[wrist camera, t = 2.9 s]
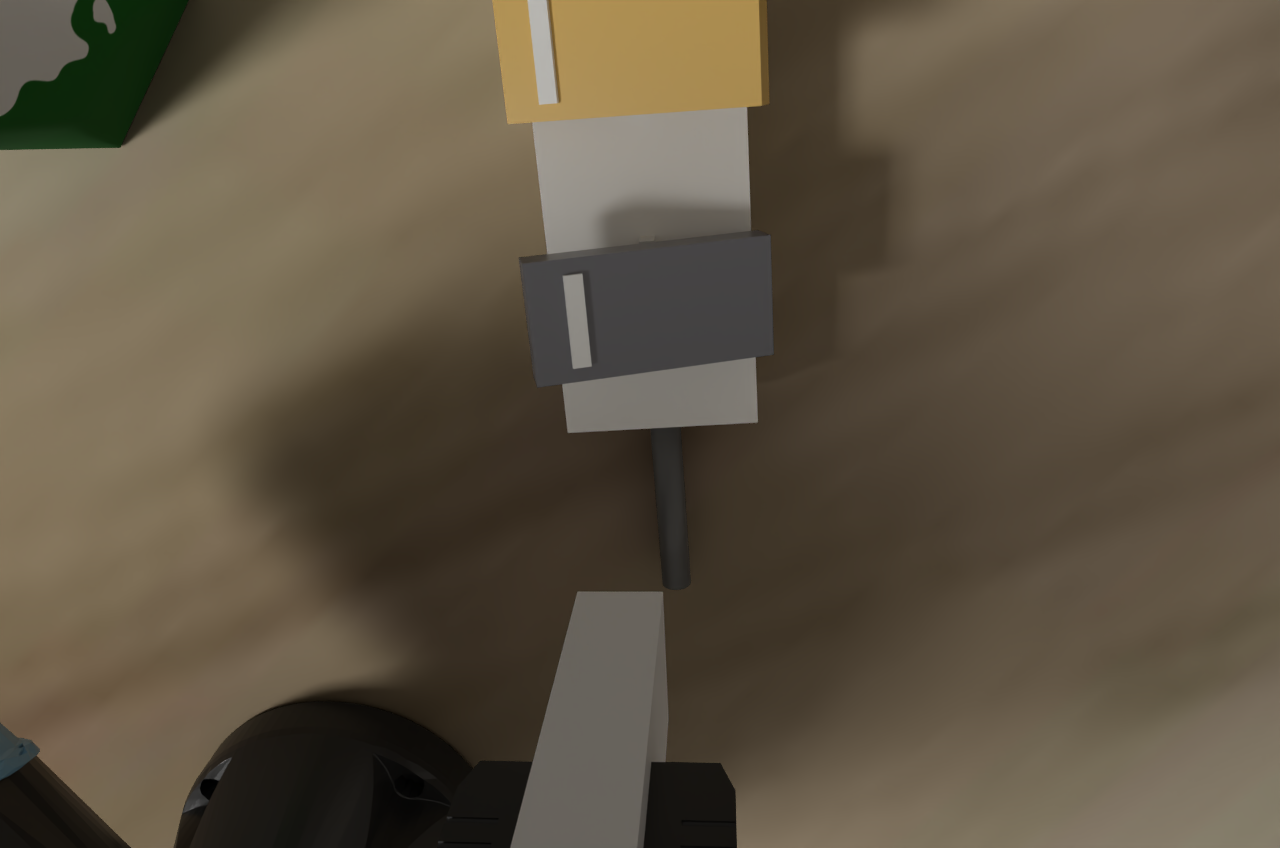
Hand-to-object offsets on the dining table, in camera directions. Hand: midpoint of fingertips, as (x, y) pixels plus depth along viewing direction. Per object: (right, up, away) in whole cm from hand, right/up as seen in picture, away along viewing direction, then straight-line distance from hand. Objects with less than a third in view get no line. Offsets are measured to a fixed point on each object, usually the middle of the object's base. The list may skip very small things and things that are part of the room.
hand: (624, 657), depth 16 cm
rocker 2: (+1, +8, +14) cm, 16 cm away
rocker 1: (0, +15, +11) cm, 19 cm away
